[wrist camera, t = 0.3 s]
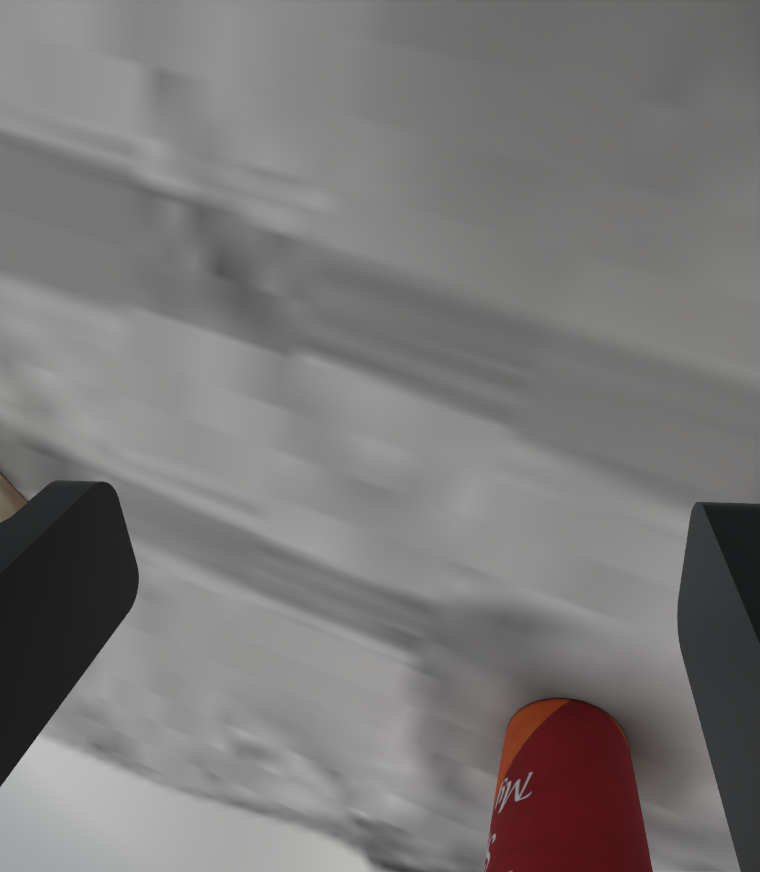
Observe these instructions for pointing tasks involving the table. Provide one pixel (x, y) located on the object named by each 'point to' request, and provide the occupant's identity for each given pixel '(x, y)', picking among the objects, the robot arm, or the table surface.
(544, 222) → the table surface
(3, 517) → the body
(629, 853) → the coffee cup
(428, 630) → the table surface
